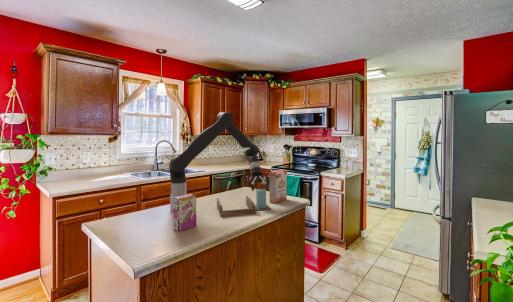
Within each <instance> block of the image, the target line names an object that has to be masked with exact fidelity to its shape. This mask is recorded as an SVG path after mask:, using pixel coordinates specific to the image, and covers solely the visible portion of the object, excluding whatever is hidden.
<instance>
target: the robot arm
mask: <svg viewBox="0 0 513 302" xmlns="http://www.w3.org/2000/svg"><path fill="white" fill-rule="evenodd" d="M234 119H235V118H234V115H233V114H232V113H231V112H229V111H221V112H219V113H218V114H217V116H216V122H215V123H214V124H213V125H211V126H209V127H207V128H206V129H204V130H202V131H201V132H200V133H199V134H197V135H196V137H195V138H194V139H193V140H192V141H191V142H190V144H189V145H188V147H187V148H186V149H185V150H184V151H183V152H182V153H181V154H180V155H177V156H174V157H172V158H171V159H170V161H169V176H170V191H171V193H170V195H169V202H170V203H169V204H170V205H169V206H170V210H171V211H173V197H178V196H183V195H187V194H188V193H187V177H186V169H187V167H188V166H189V164H191V162H193V160H194V159H195V158H196V157H197V156H198V155H200V154H201V153H202V152H203V151H204V150H205V149H207V147H209V145H211V144H212V143H213V142H214V141H215V139H216V138H218V136H219V135H220V134H221V133H222V132H224V131H225V130H226V131H227V132H228V133H229V134H230V135H231V136H232V138H233V139H234V140H235V141H236V143H238V145H239V146H240V147H241V148H242V149H245V150H244V155H245V157H246V159H247V161H248V164H249V172H250V175H249V176H247V177H246V181H247V186H249V187H250V189H251V191H252V192H254V191H255V187H254V184H260V183H261V185H263V186H264V189H265V190H266V191H268V188H269V186H270V178H269V176H268V175H265V176H264V175H263V170H262V167H261V164H260V160H259V157H258V156H257V155H258V154H259V153H260V149H259V148H260V147H258V146H257V145H256V144H255V143H253V142H252V141H250V140H249V138H247V136H246V135H245V134H244V133H243V132H242V131H241V130H240V129H239V128H238V127H236V126H235V124H234Z"/></svg>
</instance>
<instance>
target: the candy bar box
mask: <svg viewBox="0 0 513 302" xmlns="http://www.w3.org/2000/svg"><path fill="white" fill-rule="evenodd" d="M196 226H197V195H196V194H192V193H189V194H188V193H187V195H183V196H178V197H173V210H172V228H173V230H174V231H176V232H181V231H185V230H187V229H190V228H194V227H196Z"/></svg>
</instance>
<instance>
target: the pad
mask: <svg viewBox="0 0 513 302" xmlns="http://www.w3.org/2000/svg"><path fill="white" fill-rule="evenodd" d="M254 208H255V212H258V211H259V212H260V211H269V210H272V208H271V207H270V206H269V205H268V204H267V203H266V208H258V207H257V206H256V204H254Z"/></svg>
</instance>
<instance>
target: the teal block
mask: <svg viewBox="0 0 513 302" xmlns="http://www.w3.org/2000/svg"><path fill="white" fill-rule="evenodd" d="M255 191H256V192H255V193H256V194H255V195H256V197H255V199H256V203H255V205H256V206H257V207H258V208H266V204H267V190H265V188H259V189H255Z"/></svg>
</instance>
